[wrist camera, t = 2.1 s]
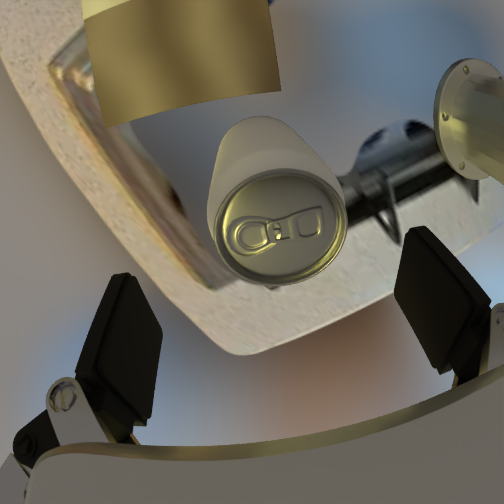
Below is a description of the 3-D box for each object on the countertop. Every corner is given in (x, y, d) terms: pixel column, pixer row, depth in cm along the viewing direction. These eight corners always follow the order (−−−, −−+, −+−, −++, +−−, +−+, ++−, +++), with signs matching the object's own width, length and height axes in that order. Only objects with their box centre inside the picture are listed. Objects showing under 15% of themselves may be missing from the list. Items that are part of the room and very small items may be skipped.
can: (208, 126, 20) (180, 181, 10) (293, 107, 20) (352, 144, 10) (229, 200, 24) (226, 304, 14) (306, 183, 23) (357, 277, 13)
